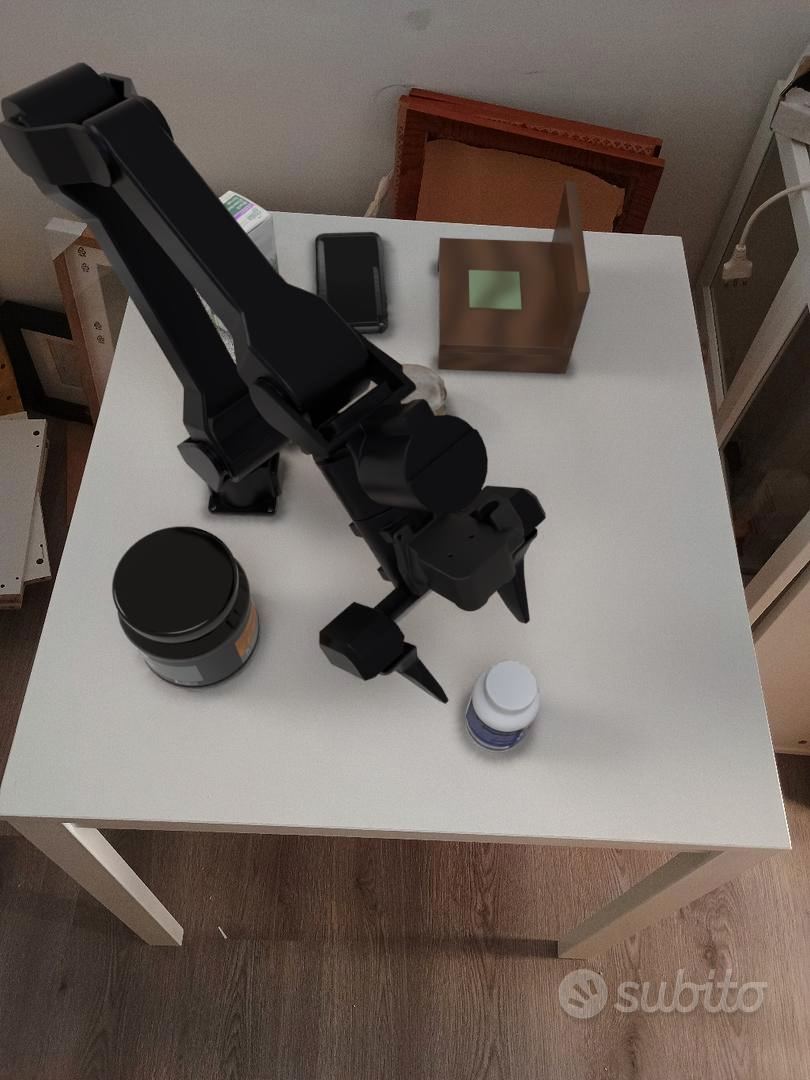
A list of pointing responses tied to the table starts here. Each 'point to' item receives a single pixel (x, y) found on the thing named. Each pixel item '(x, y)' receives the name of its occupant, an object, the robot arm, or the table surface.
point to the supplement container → (186, 607)
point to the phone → (353, 278)
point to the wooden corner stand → (514, 298)
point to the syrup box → (251, 229)
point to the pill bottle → (502, 706)
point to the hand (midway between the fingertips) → (485, 660)
